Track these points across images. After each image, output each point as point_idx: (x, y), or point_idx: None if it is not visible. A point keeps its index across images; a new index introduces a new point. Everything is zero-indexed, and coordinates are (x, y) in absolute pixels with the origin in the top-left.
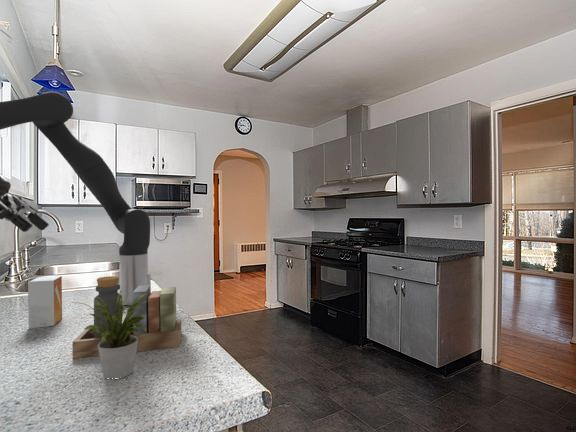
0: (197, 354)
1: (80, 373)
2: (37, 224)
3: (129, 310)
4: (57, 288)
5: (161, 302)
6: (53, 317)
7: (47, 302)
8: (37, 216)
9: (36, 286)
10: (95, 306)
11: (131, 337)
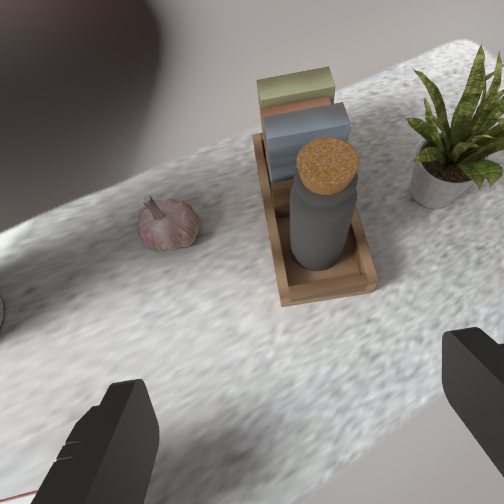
0: (359, 111)
1: (434, 247)
2: (139, 476)
3: (438, 113)
4: (36, 490)
5: (332, 100)
6: None
7: None
8: (96, 491)
9: None
10: (349, 220)
11: (421, 149)
